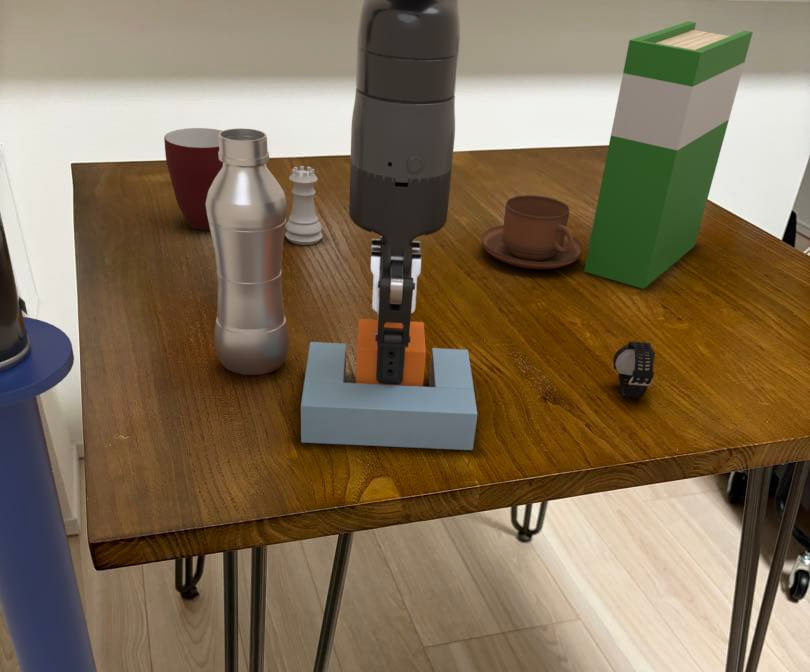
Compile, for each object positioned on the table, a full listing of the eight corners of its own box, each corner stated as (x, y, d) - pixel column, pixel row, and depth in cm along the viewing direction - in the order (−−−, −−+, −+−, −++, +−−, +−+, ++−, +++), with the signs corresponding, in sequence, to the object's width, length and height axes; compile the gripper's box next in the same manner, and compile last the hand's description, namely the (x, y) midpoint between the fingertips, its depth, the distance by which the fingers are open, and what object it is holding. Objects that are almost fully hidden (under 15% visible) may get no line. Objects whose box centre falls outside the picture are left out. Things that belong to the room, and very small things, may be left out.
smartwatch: (654, 388, 84) (667, 339, 80) (643, 413, 80) (656, 363, 77) (611, 377, 85) (622, 328, 82) (598, 401, 81) (609, 351, 78)
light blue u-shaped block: (301, 442, 73) (300, 405, 70) (310, 376, 81) (310, 341, 79) (472, 450, 73) (477, 413, 71) (463, 384, 82) (468, 349, 80)
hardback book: (639, 231, 117) (688, 21, 101) (694, 246, 114) (752, 31, 99) (583, 271, 105) (629, 40, 90) (643, 288, 102) (700, 52, 87)
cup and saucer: (596, 257, 108) (606, 205, 105) (552, 287, 100) (562, 233, 97) (509, 232, 113) (516, 181, 109) (461, 259, 105) (466, 206, 101)
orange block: (355, 386, 75) (357, 348, 73) (357, 355, 79) (358, 318, 77) (422, 390, 75) (426, 352, 73) (420, 358, 79) (423, 321, 77)
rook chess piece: (283, 245, 105) (282, 174, 100) (286, 231, 109) (284, 162, 104) (321, 246, 105) (322, 176, 100) (323, 233, 109) (323, 164, 104)
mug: (179, 205, 113) (171, 120, 107) (243, 207, 114) (239, 123, 108) (168, 236, 105) (159, 146, 99) (238, 238, 106) (233, 149, 100)
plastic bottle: (209, 354, 83) (190, 124, 71) (280, 346, 85) (274, 121, 73) (224, 388, 78) (206, 148, 66) (299, 378, 81) (296, 144, 68)
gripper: (353, 128, 71) (348, 324, 82) (347, 186, 60) (341, 405, 71) (447, 134, 72) (429, 329, 82) (458, 193, 61) (436, 409, 71)
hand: (389, 363), depth 77 cm, fingers closed on orange block, 5 cm apart
